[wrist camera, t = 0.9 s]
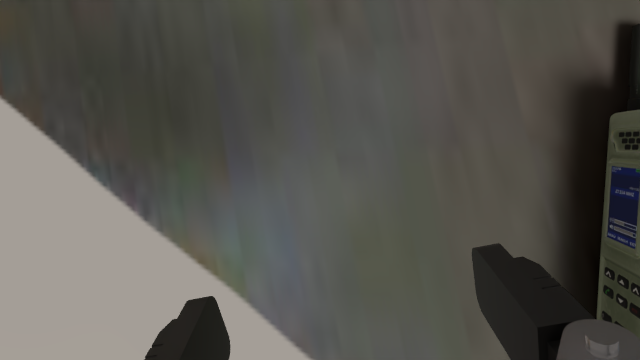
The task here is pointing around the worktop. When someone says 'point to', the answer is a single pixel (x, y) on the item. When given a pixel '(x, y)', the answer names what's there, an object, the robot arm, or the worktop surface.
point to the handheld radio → (622, 211)
